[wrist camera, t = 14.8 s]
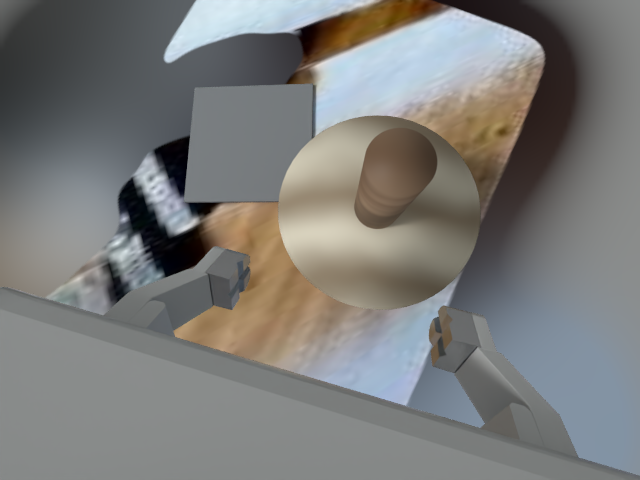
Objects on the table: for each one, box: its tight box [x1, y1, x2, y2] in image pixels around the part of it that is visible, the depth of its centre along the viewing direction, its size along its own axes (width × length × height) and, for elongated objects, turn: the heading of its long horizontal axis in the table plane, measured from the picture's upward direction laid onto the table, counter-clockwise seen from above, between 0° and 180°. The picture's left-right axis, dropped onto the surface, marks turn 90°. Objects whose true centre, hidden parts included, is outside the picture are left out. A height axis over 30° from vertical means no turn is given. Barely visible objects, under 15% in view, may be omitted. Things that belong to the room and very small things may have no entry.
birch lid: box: [278, 116, 480, 310], centre depth 18 cm, size 16×16×10 cm
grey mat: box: [184, 84, 313, 203], centre depth 38 cm, size 17×17×1 cm
